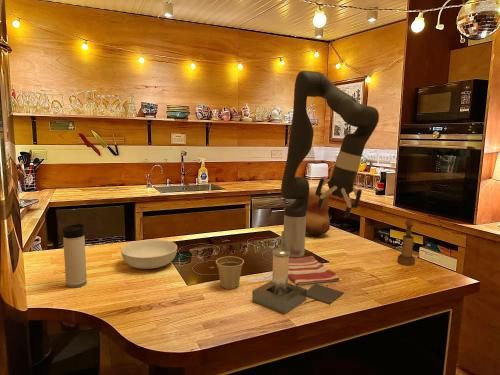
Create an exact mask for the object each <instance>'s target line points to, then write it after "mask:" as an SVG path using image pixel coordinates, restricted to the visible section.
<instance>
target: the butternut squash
mask: <svg viewBox="0 0 500 375" xmlns="http://www.w3.org/2000/svg"><path fill="white" fill-rule="evenodd" d="M317 187H318V185H317V186H313V187H312V186H311V187H309V199H308V208H307V212H306V230H305V233H307V234H310V235H311V236H313V237H314V236H315V237H319V236H321V235H325V234H326V233H327V232H328V231H330V228H331V227H330V226H331V220H330V216H329V210H330V204H329V202H330V201H329V200H330V194H329V195H327V196H326V197H324V198H325V199H324V202H323V206H322V209H321V210H320V209H319V207H318V202H319V196H317V195H316V194H315V192H316V190H317ZM327 190H328V189H327V188H326V187H324V186H323V187H322V189H321V193H322V194H323V193H325V192H326V191H327Z"/></svg>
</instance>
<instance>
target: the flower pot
mask: <svg viewBox="0 0 500 375" xmlns="http://www.w3.org/2000/svg"><path fill="white" fill-rule="evenodd" d="M244 263H245V260H244V259H243V258H241V257H238V256H231V255H230V256H229V255H228V256H223V257H219V258H217V259H216V260H215V265H217V266H216V267H217V268H218V270H217V271H218V275H219V282H220V287H221V288H224V289H226V290H234V289H235V288H238V287H240V281H241V279H240V278H241V274H242V273H241V272H242V268H243V264H244Z"/></svg>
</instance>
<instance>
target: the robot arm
mask: <svg viewBox="0 0 500 375" xmlns="http://www.w3.org/2000/svg"><path fill="white" fill-rule="evenodd" d="M310 97H311V98H317V97H319V98H322V99H325V101H326V104H327V106H328V107H329V109H330V110H331V111H333V112H335V113H336V114H338V116H340V118H341V119H342V121H343V122H345V123H346V125H350V126H351V127H355V128H356V129H355V131H354V132H353V133H347V134H344V137H343V139H342V142H341V145H340V149H339V151H338V154H337V156H336V159H335V163H334V165H333V166H334V167H333V170H332V173H331V176H330V179H329V180H328V179H326V178H325V177H321V178H320V179H319V182H318V185H317V186H318V187H317V186H316V187H317V190H316V192H315V194H316V195H317V196H319V202H318V207H319V209H320V210H321V209H322V206H323V202H324V199H325V198H324V197H326V196H327V195H329V196H330V195H332V196H334V197H339V198H340V199H342V198H343V199H344V202H346V203H345V204H346V207H345V211H344V214H343V218H344V219H346V218H348V217H349V216H350V213H351V211H352V208H353V209H354V208H355V209H357V208H358V207H359V204H360V202H361V197H362V192H363V189H361V188H354V185H355V181H356V179H357V175H358V173H359V172H358V171H359V169H360V166H361V162H362V156H363V153H364V149H365V146H366V144H367V142H368V141H369V140H370V138H371V136H372V134H373V133H374V131H375V129H376V127H377V126H378V123H379V119H380V114H379V111H378V109H377V108H376V107H374V106H370V105H367V104H362V103H360V102H358V101H357V99H356V98H355V97H353V95H350V94H349V93H346V92H345V91H343V90H341V89H340V88H339V87H337V85H336V84H334V82H332V81H331V80H330V79H329V77H327V76H326V75H325V74H324V73H323V72H320V71H311V70H300V71H299V72H298V73H297V75H296V78H295V82H294V90H293V110H292V116H291V118H292V120H291V125H290V131H289V132H290V133H289V136H288V137H289V138H288V147H287V155H286V161H285V162H286V163H285V167H284V171H283V176H282V179H281V180H282V181H281V184H280V191H281V193H280V194H281V197H282V198H283V199H284V200H294V202H293V203H291V204H290V205H288V206H286V207H285V208H284V210H283V211H284V212H283V214H284V215H283V231H281V239H280V248H283V249H287V250H289V251H290V255H289V258H302V257H305V251H306V250H305V248H306V247H305V246H306V231H305V230H306V212H307V208H308V199H309V189H310V183H309V180H308V178H306V177H304V176H296V175H297V171H298V170H299V169H298V168H299V167H300V165H301V164H302V162H304V160H305V159H306V157H308V154H309V153H310V152H311V149H312V147H313V140H314V127H313V124H312V122H311V120H310V117H309V114H308V111H307V110H308V109H307V104H308V103H307V101H308V98H310ZM326 184H327V185H328V189H327V191H326V192H325V193H323V194H322V193H321V189H322V187H324V186H326ZM351 193H354V196H356V197H355V200H354V202H352V199H351V196H350V194H351Z"/></svg>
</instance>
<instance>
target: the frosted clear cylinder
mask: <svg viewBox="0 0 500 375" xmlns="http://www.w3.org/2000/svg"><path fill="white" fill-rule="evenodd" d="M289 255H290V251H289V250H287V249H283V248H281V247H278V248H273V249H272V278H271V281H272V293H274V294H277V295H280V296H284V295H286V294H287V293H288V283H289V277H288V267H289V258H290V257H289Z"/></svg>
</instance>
